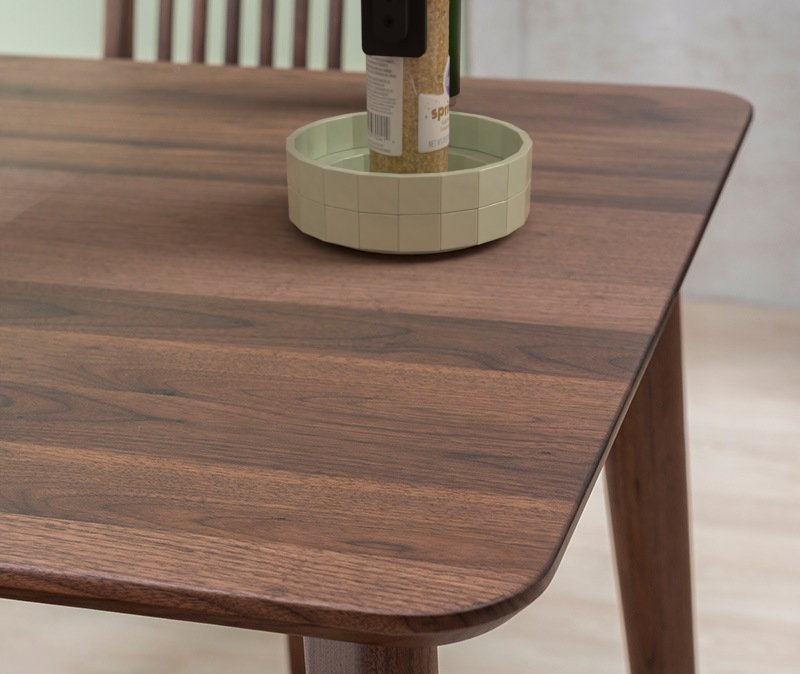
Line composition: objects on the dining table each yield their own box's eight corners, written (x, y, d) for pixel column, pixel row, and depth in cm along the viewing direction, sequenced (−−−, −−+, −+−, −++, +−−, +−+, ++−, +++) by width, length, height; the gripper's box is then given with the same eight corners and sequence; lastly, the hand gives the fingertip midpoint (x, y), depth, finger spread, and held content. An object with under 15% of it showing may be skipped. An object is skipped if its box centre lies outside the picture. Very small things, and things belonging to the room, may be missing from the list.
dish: (256, 252, 65) (251, 166, 63) (328, 178, 76) (326, 103, 74) (507, 272, 62) (510, 184, 60) (543, 192, 73) (546, 115, 71)
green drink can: (439, 89, 96) (440, -78, 90) (472, 105, 91) (476, -70, 86) (374, 97, 93) (372, -74, 88) (406, 114, 89) (405, -65, 84)
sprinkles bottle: (459, 214, 67) (464, -52, 61) (376, 221, 66) (372, -48, 60) (437, 188, 71) (440, -64, 65) (358, 195, 70) (353, -61, 64)
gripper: (372, -355, 64) (377, 12, 73) (264, -387, 50) (285, 78, 58) (518, -359, 63) (505, 17, 71) (450, -393, 48) (444, 86, 56)
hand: (406, 40), depth 64 cm, fingers closed on sprinkles bottle, 4 cm apart
